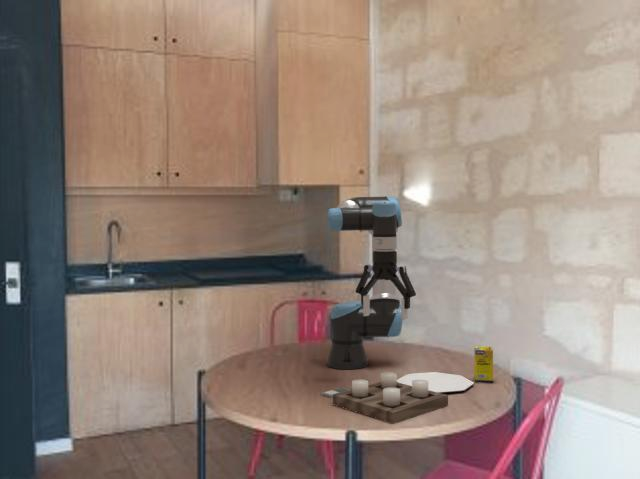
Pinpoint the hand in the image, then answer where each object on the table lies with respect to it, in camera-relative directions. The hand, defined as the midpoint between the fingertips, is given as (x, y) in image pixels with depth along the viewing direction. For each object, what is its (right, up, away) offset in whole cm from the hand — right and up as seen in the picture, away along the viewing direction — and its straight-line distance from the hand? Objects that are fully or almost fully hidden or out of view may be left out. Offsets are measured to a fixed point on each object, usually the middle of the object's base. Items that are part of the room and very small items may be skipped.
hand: (385, 317), depth 212 cm
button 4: (+9, -21, -14) cm, 27 cm away
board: (0, -24, -13) cm, 28 cm away
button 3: (0, -22, -22) cm, 31 cm away
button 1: (-9, -21, -13) cm, 27 cm away
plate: (+17, -24, +8) cm, 30 cm away
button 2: (+1, -21, -5) cm, 21 cm away
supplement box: (+34, -23, +13) cm, 43 cm away
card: (-14, -24, -2) cm, 28 cm away
